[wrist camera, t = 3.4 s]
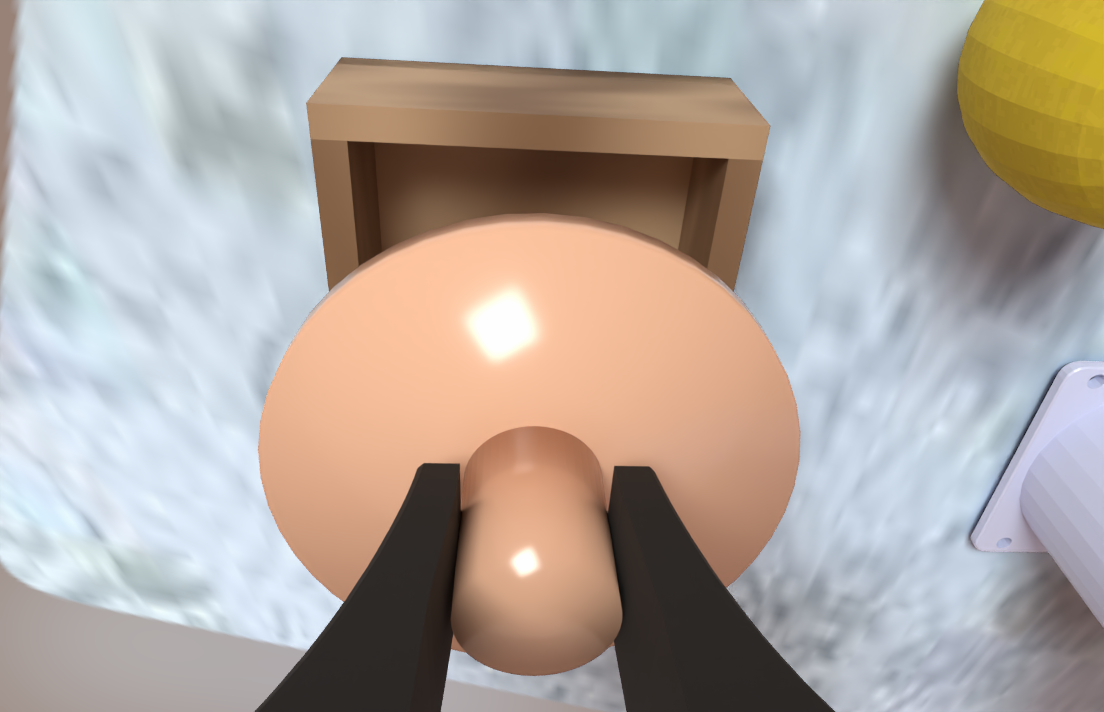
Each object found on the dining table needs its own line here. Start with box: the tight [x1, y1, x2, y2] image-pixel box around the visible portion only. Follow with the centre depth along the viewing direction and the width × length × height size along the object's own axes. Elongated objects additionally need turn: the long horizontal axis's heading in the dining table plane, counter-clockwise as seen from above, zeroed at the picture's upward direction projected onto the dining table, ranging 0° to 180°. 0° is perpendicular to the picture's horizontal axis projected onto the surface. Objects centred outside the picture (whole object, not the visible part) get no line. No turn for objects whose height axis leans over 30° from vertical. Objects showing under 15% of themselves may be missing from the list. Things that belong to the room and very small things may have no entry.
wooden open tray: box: [306, 57, 770, 292], centre depth 19 cm, size 9×9×4 cm
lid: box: [258, 213, 800, 676], centre depth 13 cm, size 10×10×4 cm
